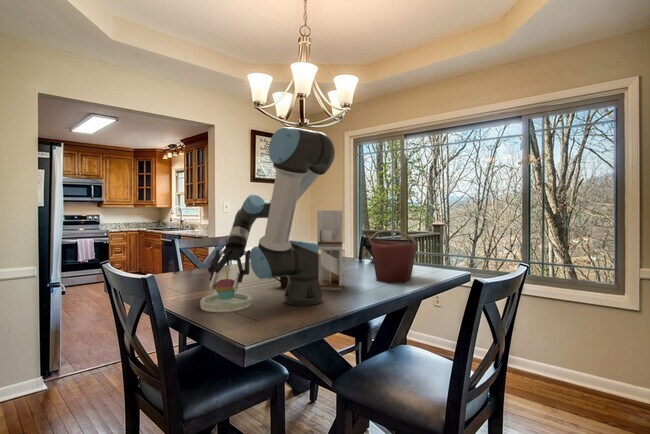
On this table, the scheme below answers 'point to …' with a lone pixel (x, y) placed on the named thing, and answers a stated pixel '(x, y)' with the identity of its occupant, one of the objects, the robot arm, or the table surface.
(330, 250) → the display case
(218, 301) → the rimmed plate
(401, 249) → the bucket
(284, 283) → the coffee mug
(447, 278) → the table surface
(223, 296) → the cupcake
